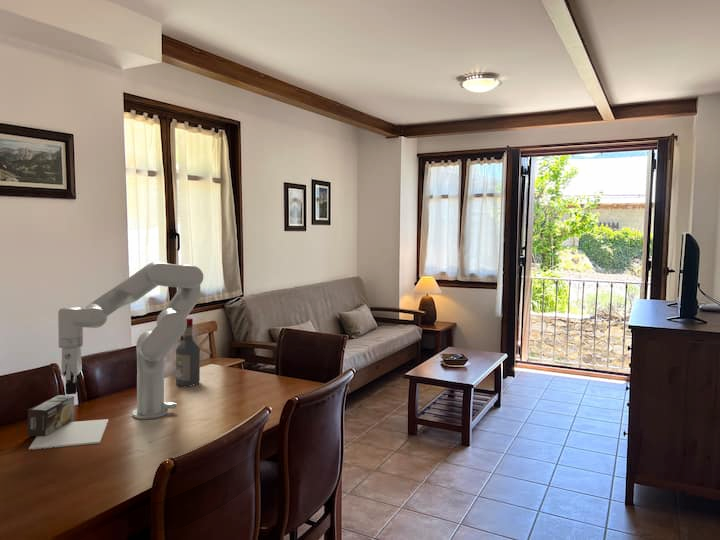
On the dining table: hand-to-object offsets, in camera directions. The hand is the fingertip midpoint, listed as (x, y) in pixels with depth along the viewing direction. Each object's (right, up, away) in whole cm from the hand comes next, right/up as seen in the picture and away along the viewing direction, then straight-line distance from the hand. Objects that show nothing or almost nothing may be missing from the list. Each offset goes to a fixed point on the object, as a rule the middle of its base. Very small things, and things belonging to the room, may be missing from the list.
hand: (71, 393), depth 185 cm
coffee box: (-4, -6, +3) cm, 8 cm away
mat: (+5, -12, -8) cm, 15 cm away
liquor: (+23, -9, +56) cm, 61 cm away
